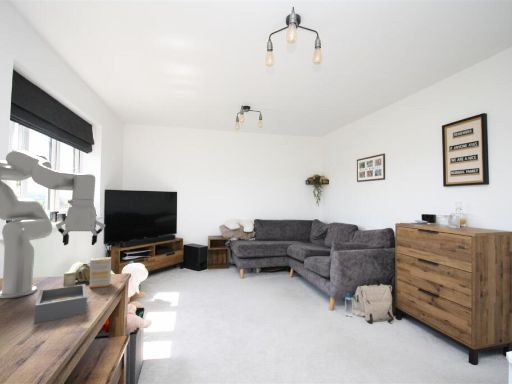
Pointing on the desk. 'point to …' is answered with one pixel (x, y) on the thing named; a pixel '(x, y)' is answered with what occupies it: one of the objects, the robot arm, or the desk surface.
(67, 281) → the peg
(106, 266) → the supplement box
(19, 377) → the desk surface
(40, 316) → the bore box
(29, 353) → the desk surface
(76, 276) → the ceramic sculpture
